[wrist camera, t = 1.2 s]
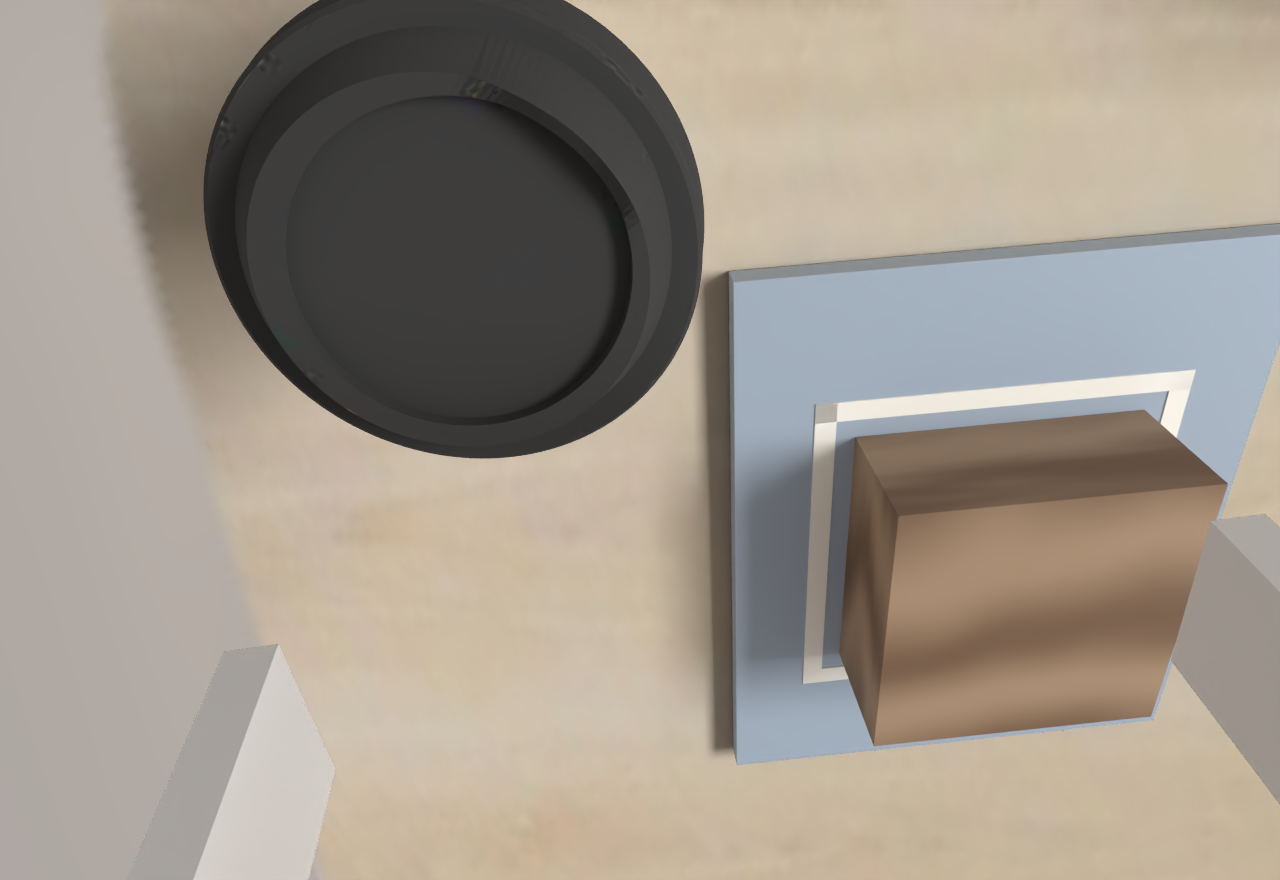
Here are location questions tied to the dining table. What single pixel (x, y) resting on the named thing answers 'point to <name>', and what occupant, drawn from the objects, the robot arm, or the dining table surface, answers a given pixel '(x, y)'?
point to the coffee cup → (457, 220)
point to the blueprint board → (953, 413)
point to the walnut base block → (1019, 573)
